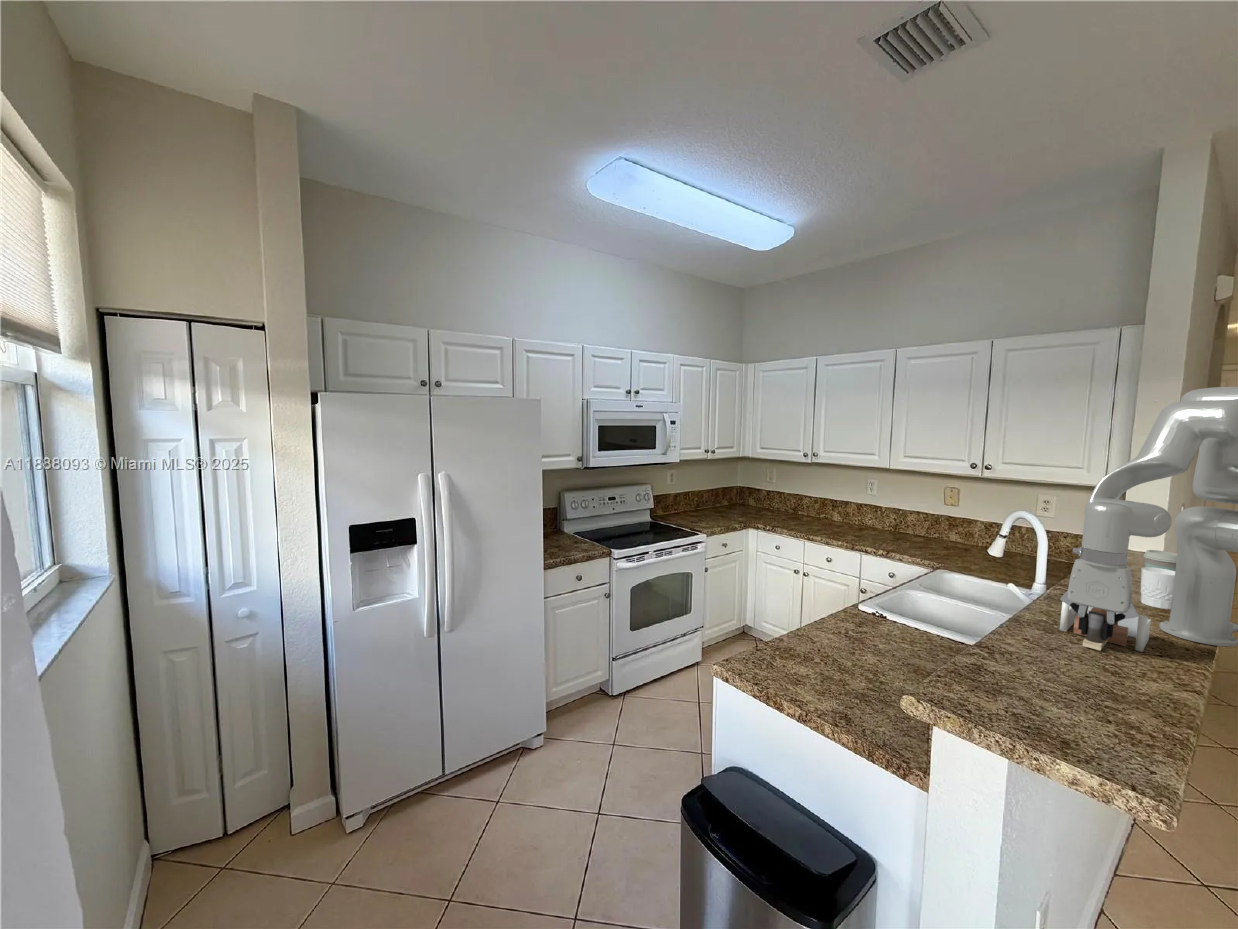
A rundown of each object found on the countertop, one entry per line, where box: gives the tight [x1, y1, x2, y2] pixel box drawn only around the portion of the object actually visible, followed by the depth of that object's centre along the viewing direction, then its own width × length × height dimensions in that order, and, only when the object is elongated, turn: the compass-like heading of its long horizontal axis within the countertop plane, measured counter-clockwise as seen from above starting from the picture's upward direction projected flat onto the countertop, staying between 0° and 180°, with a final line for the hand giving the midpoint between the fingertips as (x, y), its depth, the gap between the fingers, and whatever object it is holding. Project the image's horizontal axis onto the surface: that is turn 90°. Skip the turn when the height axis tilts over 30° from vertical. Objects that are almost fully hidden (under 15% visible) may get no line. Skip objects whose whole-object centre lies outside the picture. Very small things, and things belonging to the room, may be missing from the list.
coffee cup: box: [1143, 549, 1177, 571], centre depth 158 cm, size 8×8×12 cm
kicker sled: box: [1072, 611, 1128, 652], centre depth 117 cm, size 10×9×8 cm
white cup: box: [1140, 566, 1175, 610], centre depth 144 cm, size 8×8×10 cm
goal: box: [1059, 601, 1152, 653], centre depth 123 cm, size 11×15×8 cm
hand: (1094, 635), depth 116 cm, fingers closed on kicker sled, 2 cm apart
